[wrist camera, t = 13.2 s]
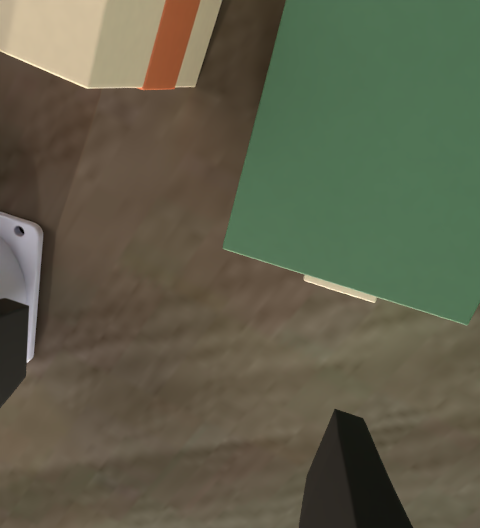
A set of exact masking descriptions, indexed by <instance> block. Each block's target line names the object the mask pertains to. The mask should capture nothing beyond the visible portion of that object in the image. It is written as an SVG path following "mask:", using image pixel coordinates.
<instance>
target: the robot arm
mask: <svg viewBox="0 0 480 528" xmlns="http://www.w3.org/2000/svg"><path fill="white" fill-rule="evenodd" d="M19 227H22V228H23V230H24V234H23V233H22V232H21V231H20V228H19ZM42 246H43V231H42V229H41V227H40V226H39V225H38V224H36V223H34V222H31V221H28V220H25V219H22V218H19V217H16V216H12V215H9V214H6V213H3V212H0V408H1V406H2V405H3V404H4V403H5V402H6V400H7V399H8V398H9V397H10V396H11V394H12V393H13V392H14V391H15V389H16V388H17V387H18V386H19V384H20V383H21V382H22V381H23V379H24V378H25V377H26V364H27V363H28V362H29V361H30V360H31V359H32V358H33V356H34V347H35V334H36V321H37V309H38V296H39V283H40V271H41V258H42ZM299 528H413V527H412V525H411V523H410V521H409V519H408V517H407V515H406V512H405V510H404V508H403V506H402V504H401V502H400V500H399V498H398V496H397V494H396V492H395V490H394V488H393V485H392V483H391V481H390V479H389V477H388V474H387V472H386V470H385V468H384V465H383V463H382V461H381V458H380V456H379V454H378V451H377V449H376V447H375V444H374V442H373V440H372V437H371V435H370V432H369V430H368V428H367V425H366V423H365V421H364V419H363V418H360V417H357V416H355V415H352V414H349V413H346V412H343V411H340V410H337V409H335V410H334V412H333V415H332V417H331V419H330V422H329V424H328V427H327V429H326V431H325V434H324V436H323V439H322V441H321V443H320V446H319V448H318V451H317V453H316V455H315V458H314V460H313V462H312V465H311V467H310V470H309V472H308V474H307V478H306V484H305V490H304V496H303V502H302V509H301V516H300V522H299Z"/></svg>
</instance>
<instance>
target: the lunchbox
mask: <svg viewBox="0 0 480 528" xmlns="http://www.w3.org/2000/svg"><path fill="white" fill-rule="evenodd" d="M223 249H225V250H228V251H231V252H235V253H238V254H241V255H244V256H247V257H251V258H254V259H257V260H260V261H263V262H267V263H270V264H273V265H276V266H279V267H282V268H286V269H289V270H292V271H295V272H298V273H302V274H304V281H307V282H310V283H313V284H316V285H319V286H322V287H326V288H329V289H332V290H335V291H338V292H341V293H345V294H348V295H351V296H354V297H357V298H361V299H364V300H367V301H370V302H373V303H375V302H376V299H377V297H378V298H381V299H385V300H388V301H391V302H394V303H397V304H401V305H404V306H407V307H410V308H413V309H416V310H420V311H423V312H426V313H429V314H432V315H436V316H439V317H442V318H445V319H448V320H452V321H455V322H458V323H461V324H464V325H468V323H469V321H470V320H471V318H472V316H473V314H474V312H475V310H476V308H477V307H478V305H479V303H480V0H286V2H285V5H284V9H283V13H282V17H281V21H280V25H279V29H278V33H277V37H276V41H275V44H274V48H273V52H272V56H271V60H270V64H269V68H268V72H267V76H266V80H265V83H264V87H263V91H262V95H261V99H260V103H259V107H258V111H257V115H256V119H255V122H254V126H253V130H252V134H251V138H250V142H249V146H248V150H247V154H246V158H245V161H244V165H243V169H242V173H241V177H240V181H239V185H238V189H237V193H236V197H235V200H234V204H233V208H232V212H231V216H230V220H229V224H228V228H227V232H226V236H225V239H224V243H223Z"/></svg>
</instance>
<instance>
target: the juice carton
mask: <svg viewBox="0 0 480 528" xmlns="http://www.w3.org/2000/svg"><path fill="white" fill-rule="evenodd" d="M221 3H222V0H0V52H3V53H5V54H7V55H10V56H12V57H14V58H17V59H19V60H21V61H24V62H26V63H28V64H31V65H33V66H35V67H38V68H40V69H42V70H45V71H47V72H49V73H52V74H54V75H56V76H59V77H61V78H63V79H66V80H68V81H70V82H73V83H75V84H77V85H80V86H82V87H84V88H139V89H141V90H158V89H174V88H175V87H195V86H196V83H197V79H198V76H199V73H200V70H201V67H202V63H203V60H204V57H205V54H206V51H207V47H208V44H209V41H210V38H211V35H212V31H213V28H214V25H215V22H216V19H217V15H218V12H219V9H220V6H221Z"/></svg>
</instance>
